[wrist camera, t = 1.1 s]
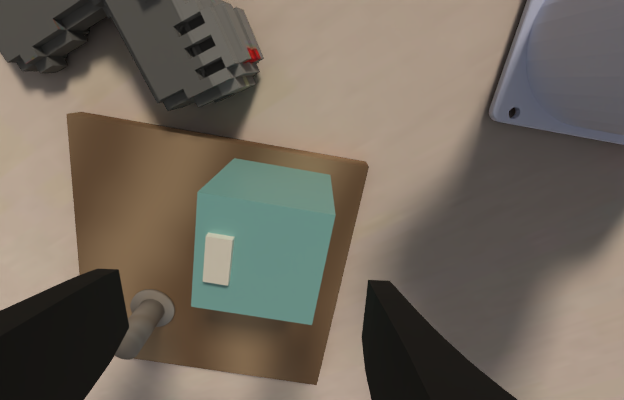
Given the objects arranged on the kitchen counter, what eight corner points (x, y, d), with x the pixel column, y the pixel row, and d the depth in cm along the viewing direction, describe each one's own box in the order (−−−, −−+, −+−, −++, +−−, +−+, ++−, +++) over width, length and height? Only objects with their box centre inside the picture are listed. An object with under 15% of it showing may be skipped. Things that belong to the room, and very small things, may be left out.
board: (365, 161, 16) (379, 185, 13) (316, 371, 21) (316, 434, 17) (81, 111, 16) (7, 121, 12) (96, 339, 21) (47, 396, 17)
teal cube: (330, 174, 16) (336, 218, 11) (313, 258, 17) (312, 330, 12) (234, 158, 15) (194, 194, 10) (226, 244, 17) (188, 311, 12)
